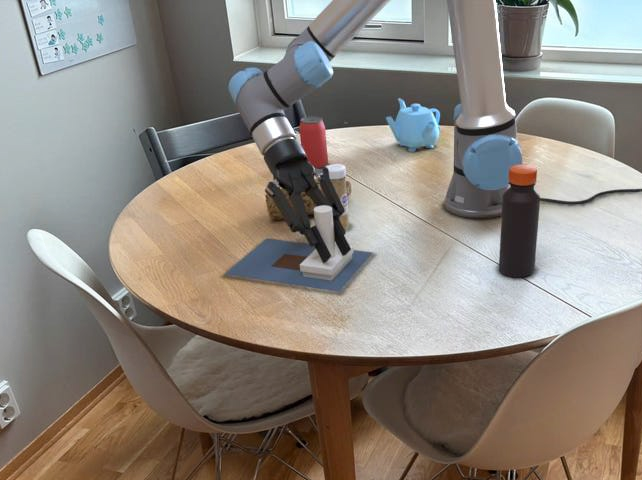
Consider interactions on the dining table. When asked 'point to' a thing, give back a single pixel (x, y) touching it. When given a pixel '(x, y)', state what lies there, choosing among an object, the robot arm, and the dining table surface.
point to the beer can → (314, 141)
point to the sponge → (308, 203)
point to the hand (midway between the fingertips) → (337, 255)
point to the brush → (336, 262)
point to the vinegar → (519, 223)
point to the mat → (291, 265)
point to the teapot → (415, 126)
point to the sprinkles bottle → (340, 189)
